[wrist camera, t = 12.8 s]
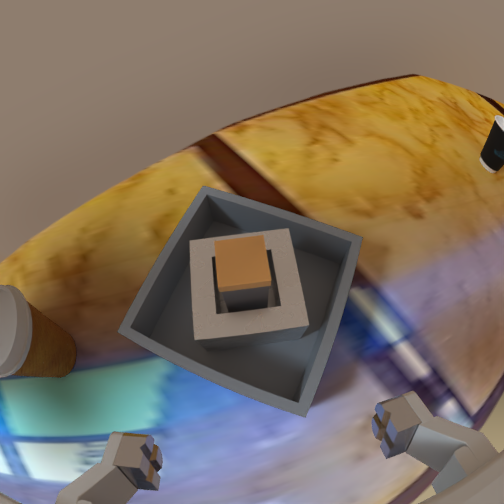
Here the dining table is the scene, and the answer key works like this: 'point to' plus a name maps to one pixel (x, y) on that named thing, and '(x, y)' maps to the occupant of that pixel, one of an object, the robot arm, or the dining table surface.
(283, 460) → the dining table surface
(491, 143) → the dixie cup
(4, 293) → the disposable coffee cup
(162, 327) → the walled box
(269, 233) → the inlet socket
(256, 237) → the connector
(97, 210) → the dining table surface
